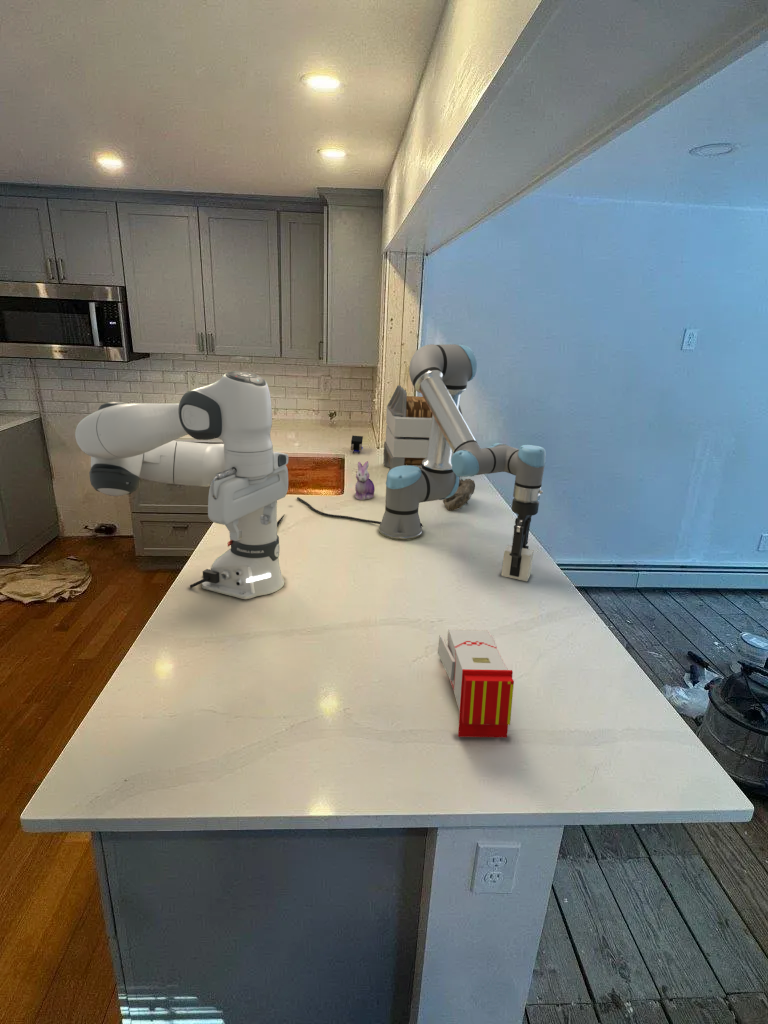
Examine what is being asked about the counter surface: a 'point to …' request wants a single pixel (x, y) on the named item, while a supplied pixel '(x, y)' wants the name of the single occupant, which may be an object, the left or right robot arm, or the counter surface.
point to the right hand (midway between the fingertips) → (516, 571)
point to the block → (524, 567)
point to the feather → (279, 521)
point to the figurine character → (356, 443)
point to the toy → (478, 682)
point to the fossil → (460, 495)
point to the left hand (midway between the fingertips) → (251, 531)
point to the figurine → (363, 483)
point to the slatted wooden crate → (407, 430)
